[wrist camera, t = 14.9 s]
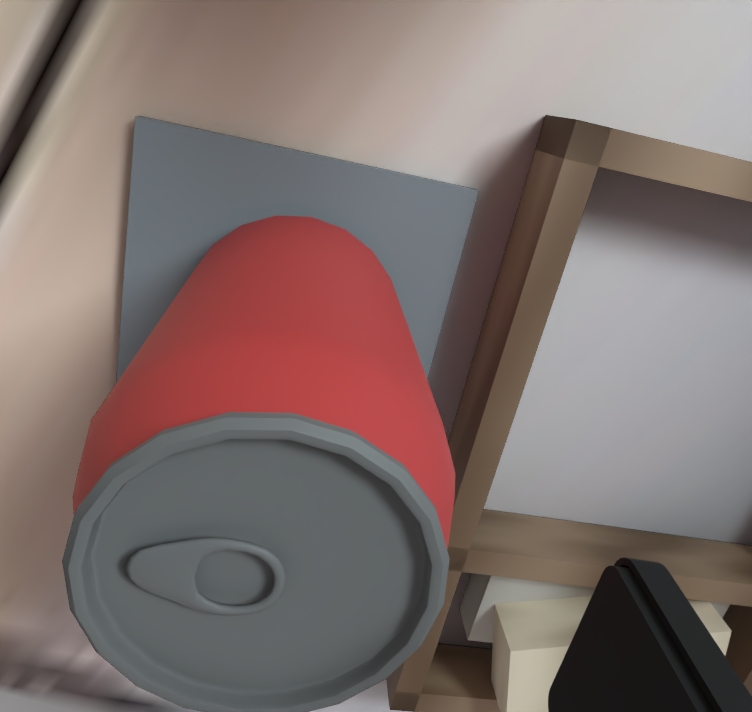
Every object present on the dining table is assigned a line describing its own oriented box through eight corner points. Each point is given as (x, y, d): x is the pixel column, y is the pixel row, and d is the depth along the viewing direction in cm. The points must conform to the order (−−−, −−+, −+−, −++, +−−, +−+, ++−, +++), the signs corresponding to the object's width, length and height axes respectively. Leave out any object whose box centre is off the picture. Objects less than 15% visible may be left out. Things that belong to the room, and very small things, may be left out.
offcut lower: (707, 552, 27) (738, 590, 25) (670, 623, 29) (696, 664, 27) (482, 521, 25) (496, 559, 23) (456, 598, 27) (467, 640, 25)
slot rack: (966, 216, 21) (1043, 232, 19) (700, 687, 29) (733, 738, 27) (545, 115, 19) (576, 119, 17) (384, 656, 27) (389, 709, 25)
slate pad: (475, 188, 20) (478, 191, 19) (400, 462, 23) (402, 470, 23) (139, 115, 18) (135, 116, 18) (117, 421, 22) (112, 428, 21)
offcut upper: (698, 586, 25) (731, 630, 23) (682, 661, 26) (712, 709, 24) (494, 604, 24) (510, 651, 22) (491, 679, 26) (505, 729, 24)
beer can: (200, 189, 19) (23, 343, 8) (418, 234, 20) (543, 426, 9) (177, 391, 21) (18, 729, 10) (373, 421, 22) (424, 758, 11)
